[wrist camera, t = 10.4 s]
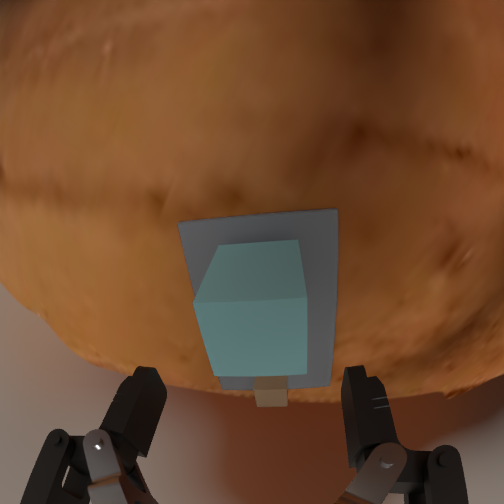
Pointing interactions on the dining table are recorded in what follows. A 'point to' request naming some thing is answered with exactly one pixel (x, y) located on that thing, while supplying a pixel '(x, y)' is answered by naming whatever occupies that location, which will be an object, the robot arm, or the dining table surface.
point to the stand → (315, 274)
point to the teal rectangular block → (254, 310)
